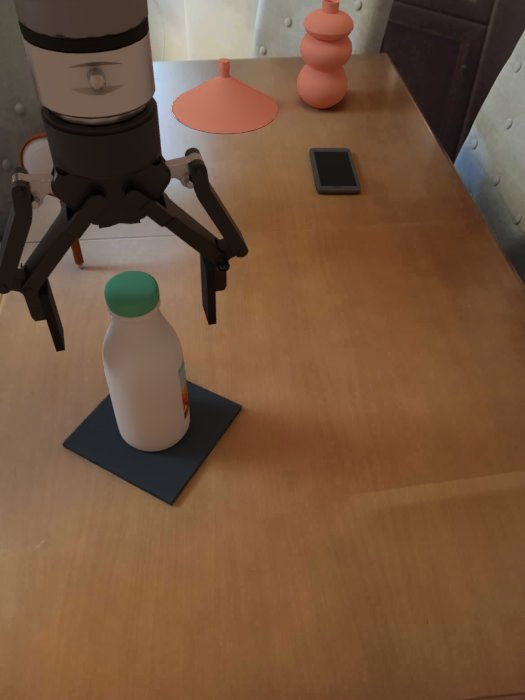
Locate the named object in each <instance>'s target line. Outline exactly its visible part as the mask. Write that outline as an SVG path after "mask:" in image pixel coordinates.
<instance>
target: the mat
mask: <svg viewBox="0 0 525 700" xmlns="http://www.w3.org/2000/svg"><path fill="white" fill-rule="evenodd" d="M186 382H187V392H188V402H189V412H190V423H189V427H188V429H187V431H186V433H185V435H184V436H183V437H182V439H181V440H179V441H178V442H177V443H176V444H174V445H173V446H171V447H169V448H167V449H164V450H160V451H153V452H151V451H143V450H139V449H137V448H134V447H132V446H131V445H129V444H128V443H127V442H126V441H125V440H124V439H123V437H122V436H121V434H120V431H119V428H118V424H117V420H116V417H115V413H114V409H113V405H112V401H111V397H110V393H109V392H108V394H107V395H106V397H104V398H103V399H102V400H101V402H100V403H99V404H98V405H97V406H96V407H95V408H94V409H93V410H92V411H91V413H89V414H88V415H87V417H86V418H84V419H83V421H82V422H81V423H80V424H79V425H77V427H75V428H76V429H74V430H73V432H71V434H70V435H68V437H67V438H66V439H65V440H64V441H63V442H62V443H61V445H62V447H63V448H65V449H67V450H68V451H70V452H72V453H74V454H76V455H77V456H79V457H81V458H83V459H85V460H87V461H89V462H91V463H92V464H93V465H96V466H98V467H100V468H102V469H103V470H105V471H107V472H109V473H110V474H113V475H114V476H116V477H117V478H120V479H122V480H123V481H125V482H127V483H129V484H131V485H132V486H134V487H136V488H138V489H140V490H142V491H144V492H145V493H147V494H149V495H150V496H153V497H154V498H156V499H158V500H160V501H162V502H164V503H166V504H168V505H169V506H171V507H172V505H174V503H175V502H176V501H177V499H178V498H179V496H180V495H181V494H182V492H183V491H184V489H185V488H186V486H187V485H188V484H189V483H190V481H191V480H192V478H193V477H194V476H195V474H196V473H197V471H198V470H199V469H200V467H201V466H202V465H203V463H204V462H205V461H206V459H207V458H208V456H209V455H210V454H211V452H212V451H213V449H214V448H215V447H216V445H217V444H219V443H218V442H219V441H220V440H221V438H223V436H224V435H225V433H226V431H227V430H228V429H229V428H230V426H231V425H232V423H233V422H234V421H235V419H236V418H237V416H238V415H239V414H240V412H241V411H242V410H243V405H241V404H240V403H237V402H235V401H232V400H231V399H228V398H226V397H224V396H223V395H220V394H218V393H216V392H213V391H211V390H210V389H207V388H204V386H201V385H198V384H196V383H194V382H192V381H189V380H187V379H186Z"/></svg>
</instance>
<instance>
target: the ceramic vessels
mask: <svg viewBox="0 0 525 700" xmlns="http://www.w3.org/2000/svg"><path fill="white" fill-rule="evenodd" d="M340 2H341V0H321V8H317V9H314V10H312V11H310V12H309V13H308V14H306V15H305V17H304V20H303V23H302V26H303V28H304V30H305V32H306V33H305V34H304V36H303V37H302V39H301V40H300V44H299V54H300V56H301V58H302V60H303V62H304V63H306V64H305V65H303V67H302V68H301V69H300V70H299V74H298V76H297V81H296V86H297V87H296V88H297V89H296V90H297V92H298V95H299V97H300V98H301V99H302V100H303V101H304V102H305V103H306V104H307V105H309V106H310V107H312V108H315V109H323V110H324V109H329V108H331V107H333V106H335V105H337V104H338V103H340V102H341V101H342V100H343V99H344V97H345V95H346V94H347V91H348V87H349V85H348V84H349V81H348V80H349V79H348V75H347V72H346V70H345V69H344V67H343V66H345V65H346V64H347V63H348V62H349V61H350V59H351V57H352V54H353V43H352V41H351V38H350V37H349V36H350V35H351V33H352V32H353V30H354V28H355V27H354V26H355V25H354V19H353V18H352V16H350V15H349V14H348V13H347V12H345V11H343V10H341V9H340ZM217 68H218V75H217V76H215V77H212V78H210V79H209V80H206V81H204V82H203V83H201V84H198V85H197V86H195V87H193V88H191V89H189V90H186V91H185V92H182V93H181V94H179V95H178V96H179V97H178V96H177V97H176V98H175V99H176V100H175V99H174V100H175V101H174V100H173V101H172V103H173V105H172V104H171V106H172V110H171V113H172V112H173V114H174V115H175V117H176V118H177V119H178V120H179V121H180V122H179V121H178V120H177V119H176V118H175V117H174V118H175V119H176V120H177V121H178V122H179V123H181V124H182V123H183V124H182V125H184V126H186V127H188V128H191V129H193V130H195V131H196V130H197V131H200V132H205V133H211V134H226V135H227V134H239V133H248V132H252V131H255V130H258V129H260V128H263V127H265V126H266V125H268V124H270V123H272V121H273V120H275V119H276V117H277V115H278V113H279V107H278V104H277V102H276V101H275V100H274V99H273V98H272V97H271V96H270V95H269V94H267V93H266V92H263V91H261V90H260V89H257V88H255V87H253V86H251V85H249V84H248V83H245V82H243V81H242V80H239V79H238V78H236V77H234V76H232V75H231V73H230V70H231V69H230V68H231V63H230V59H229V58H228V57H227V58H226V57H222V58H219V59H218V67H217ZM173 114H172V115H173ZM174 115H173V116H174Z"/></svg>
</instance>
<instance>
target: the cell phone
mask: <svg viewBox="0 0 525 700" xmlns="http://www.w3.org/2000/svg"><path fill="white" fill-rule="evenodd" d="M308 155H309V159H310V164H311V169H312V174H313V179H314V184H315V189H316V192H317V193H318V194H358V193H360V192H361V191H362V190H361V189H362V187H361V184H360V180H359V176H358V173H357V169H356V166H355V163H354V160H353V156H352V153H351V149H350V148H347V147H310V148H309V152H308Z"/></svg>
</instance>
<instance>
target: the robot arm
mask: <svg viewBox="0 0 525 700" xmlns="http://www.w3.org/2000/svg"><path fill="white" fill-rule="evenodd" d="M13 3H14V8H15V12H16V15H17V19H18V27H19V30H20V34H21V38H22V42H23V46H24V51H25V54H26V58H27V63H28V66H29V70H30V75H31V78H32V83H33V87H34V91H35V96H36V99H37V100H38V102H39V103H40V104H41V105H42V106H41V109H40V116H41V120H42V123H43V128H44V133H46V137H47V141H48V145H49V149H50V153H51V157H52V161H53V170H52V172H51V174H29V173H28V171H27V170H26V169H25V168H23V167H21V166H17V167H14V168H13V169H12V170H11V172H10V181H11V182H10V185H11V186H10V187H11V189H10V190H11V191H10V192H11V200H12V204H11V207H10V210H9V214H8V218H7V221H6V225H5V228H4V231H3V236H2V240H1V243H0V294H1V295H6V294H9V293H10V292H18V293H20V294H22V296H23V298H24V300H25V303H26V306H27V309H28V312H29V314H30V318H31V319H33V321H34V322H41V321H46V324H47V327H48V330H49V333H50V336H51V341H52V342H53V347H54V349H55V352H56V353H59V352H64V351H66V343H65V342H66V341H65V333H64V332H65V331H64V327H63V323H62V320H61V316H60V314H59V310H58V307H57V303H56V300H55V299H56V298H55V297H54V293H53V290H52V287H51V283H50V279H49V277H50V275H51V274H53V271H54V270H55V269H56V267H57V266H58V265H59V264H60V262H61V260H62V259H63V258H64V256H65V255H66V254H67V252H68V251H69V249H71V245H72V244H73V243H74V241H75V240H76V239H79V240H80V239H81V238H82V237H83V235H84V233H85V232H87V230H88V229H89V227H90V226H91V225H94V226H98V229H103V228H104V229H105V228H111V227H113V226H116V225H118V224H124V225H134V224H141V220H143V219H145V218H146V217H148V218H149V219H150V220H151V221H153V222H154V223H156V224H157V225H158V226H159V227H161V228H164V227H165V228H166V229H167V230H168V231H170V232H171V233H172V234H173V235H175V236H176V237H178V238H179V239H180V240H182V241H183V242H184V243H185V244H187V245H188V246H189V247H191V248H192V249H193V250H194V251H196V252H197V253H199V263H200V265H199V266H200V284H201V285H200V286H201V305H202V309H203V312H204V315H205V318H206V322H207V324H208V326H213V325H217V323H218V322H217V292H223V291H226V288H227V286H228V284H227V283H228V281H227V276H228V275H227V274H228V273H227V272H228V271H229V270H230V268H231V264H230V260H231V259H233V258H235V257H236V258H239V259H240V258H245V257H246V256H247V255H248V254H249V248H248V245H247V243H246V241H245V238H244V235H243V234H242V231H241V230H240V228H239V227H238V225H237V224H236V222H235V220H234V219H233V217H232V216H231V213H230V212H229V211H228V210H227V207H226V206H225V205H224V203H223V201H222V200H221V198H220V197H219V195H218V193H217V191H216V190H215V188H214V187H213V185H212V184H211V182H210V178H209V174H208V169H207V166H206V164H205V161H204V159H203V156H202V154H201V152H200V150H199V149H198V148H197V147H190V148H188V149H186V150H185V153H184V156H181V157H176V158H172V159H167V160H166V159H165V157H164V156H163V152H162V141H161V140H162V139H161V131H160V130H161V129H160V119H159V109H158V103H157V100H156V98H154V96H155V93H156V81H155V80H156V79H155V72H154V71H155V70H154V61H153V52H152V43H151V42H152V41H151V34H150V33H151V32H150V22H149V6H148V5H149V4H148V0H13ZM172 179H176V180H178V181H179V183H181V185H182V187H184V188H187V189H188V190H192V189H193V191H194V194H195V197H196V198H197V200H198V202H199V203H200V205H201V207H202V208H203V210H204V211H205V212H206V214H207V215H208V217H209V218H210V220H211V222H212V223H213V224H214V226H215V227H216V229H217V230H218V232H219V233H220V234H221V236H222V238H220V239H219V237H217V236H216V235H215V234H213V233H212V232H211V231H210V230H209V229H207V228H206V227H205V226H204V225H203V224H201V223H200V222H199V221H198V220H196V218H194V217H192V216H191V215H190V214H189V213H188V212H187V211H185V210H184V209H183V208H182V207H181V206H179V205H178V204H176V203H175V201H174V200H172V199H171V198H170V197H169V196H168V194H167V193H166V189H167V188H168V186H169V184H170V182H171V180H172ZM49 193H53V194H54V195H55V196H56V197H57V198H56V199H58V200H59V201H60V200H61V201H62V202H63V205H62V207H61V206H60V210H59V213H58V215H57V217H56V218H55V219H54V220H53V222H52V223H51V224H50V227H48V229H47V231H46V232H45V233H44V235H43V237H42V238H41V239H40V241H39V242H38V243H37V245H36V247H35V248H34V250H33V251H32V253H30V255H29V257H28V258H27V260H26V261H25V262H24V264H23V262H21V259H22V256H23V253H24V249H25V246H26V243H27V239H28V236H29V232H30V230H31V225H32V223H33V217H34V210H33V209H35V210H36V209H39V207H40V206H41V205H43V203H44V202H45V201H44V200H45V197H46V196H48V195H47V194H49ZM19 267H20V268H19Z"/></svg>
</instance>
